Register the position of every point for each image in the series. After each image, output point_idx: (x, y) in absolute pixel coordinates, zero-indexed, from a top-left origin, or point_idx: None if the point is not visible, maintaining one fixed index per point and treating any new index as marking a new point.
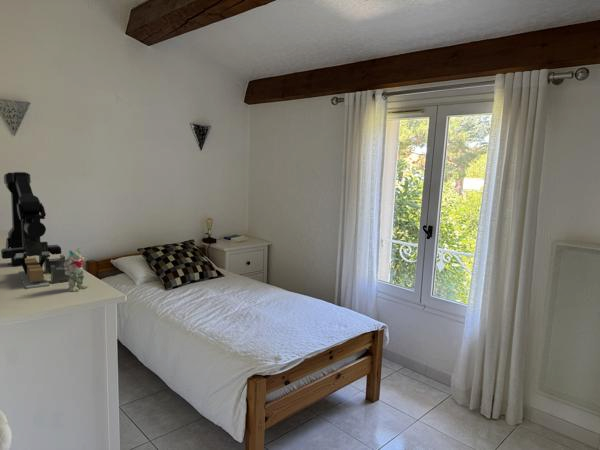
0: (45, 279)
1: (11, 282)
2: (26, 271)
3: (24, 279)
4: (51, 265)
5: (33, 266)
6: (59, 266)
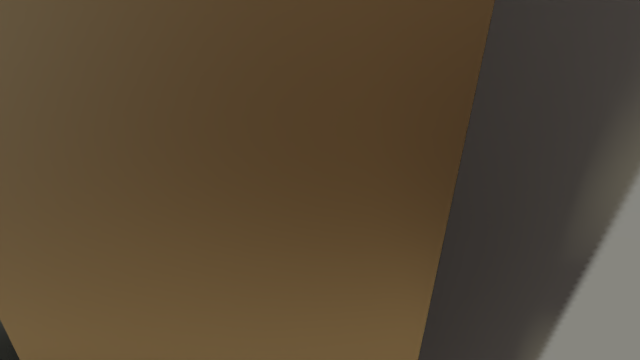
0: None
1: (539, 232)
2: None
3: None
4: None
5: (235, 299)
6: None
